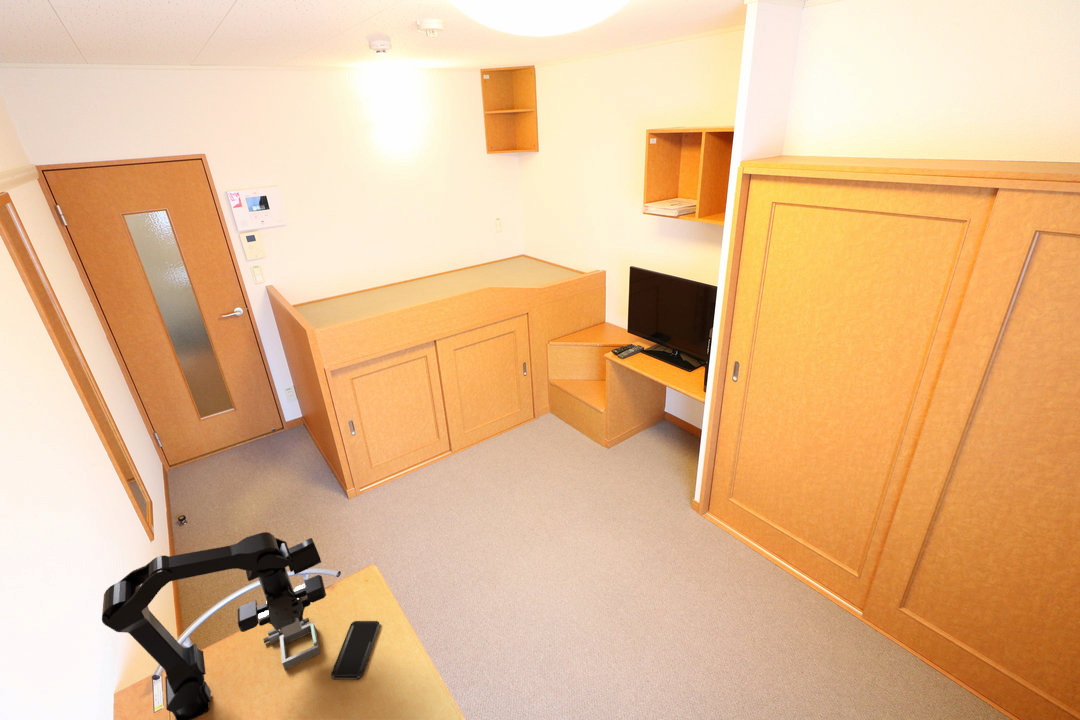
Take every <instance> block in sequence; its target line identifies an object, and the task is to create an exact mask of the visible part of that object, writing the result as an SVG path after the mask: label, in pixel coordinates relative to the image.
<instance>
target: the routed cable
mask: <svg viewBox="0 0 1080 720" xmlns="http://www.w3.org/2000/svg"><path fill="white" fill-rule="evenodd" d="M309 623H310V618H309V617H306V618H304V617H303V618H302V622H301V627H302V626H304V625H306V624H309ZM267 635H268V636H266V637H264V638H262V639H263V643H264V644H266V643H268V642H269V643H270V645H272V644H273V643H276V642H280V637H279V636H281V635H283V633H282V630H275V629H274V628H272V629H271V630H268V631H267Z"/></svg>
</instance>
